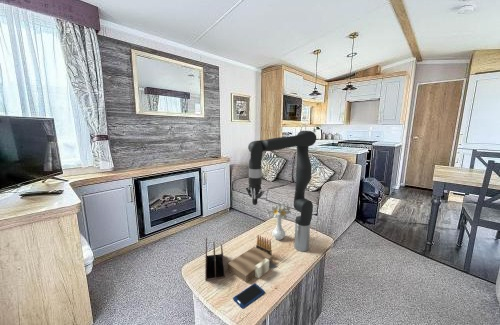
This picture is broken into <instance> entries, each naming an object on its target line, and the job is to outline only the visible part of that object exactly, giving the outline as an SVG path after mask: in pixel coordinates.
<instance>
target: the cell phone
mask: <svg viewBox="0 0 500 325" xmlns="http://www.w3.org/2000/svg"><path fill="white" fill-rule="evenodd" d="M265 293H266V292H265V290H264V289H263V288H262V287H261V286H259V285H258V284H257V283H253V284H251V285H250V286H248V287H246V288H245V289H244V290H242V291H241V292H239V293H237V294H236V295H235V296H233V297H232V299H233V301H234V302H235V303H236V304H237V305H238V306H239V307H240V308H241V309H245V308H247V307H248V306H249V305H251V304H252V303H253V302H254V301H257V300H258V299H259V298H260V297H262V296H263V295H264V294H265Z"/></svg>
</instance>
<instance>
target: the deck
mask: <svg viewBox="0 0 500 325" xmlns="http://www.w3.org/2000/svg"><path fill="white" fill-rule="evenodd" d="M265 258H266V259H268V260H269V264H270V263H272V264H273V255H272V256H271V255H269V254H268V253H266V252H264V251H262V250H260V249H258V248H256V246H253V247H251V248H250V249H248V250H246V251H245V252H243V253H242V254H240V255H238V256H236V257H235V258H234V259H232V260H230V261H229V262H227V265H226V266H227V269H226V270H227V271H228V272H230V273H231V274H233V275H235V276H236V277H237V278H239V279H240V280H242V281H243V282H244V283H247V282H248V281H250V280H251V279H252V278H254V277H255V266H256V265H257V264H258V263H260V262H261V261H262V260H264V259H265Z"/></svg>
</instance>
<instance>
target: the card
mask: <svg viewBox="0 0 500 325" xmlns="http://www.w3.org/2000/svg"><path fill="white" fill-rule="evenodd" d="M268 271H270V269H269V260H268V259H266V258H265V259H264V260H262V261H261V262H260V263H258V264H257V265H256V266H255V276H254V277H255V278H257V279H260V278H261V277H263V275H265V274H266V273H268Z"/></svg>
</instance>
